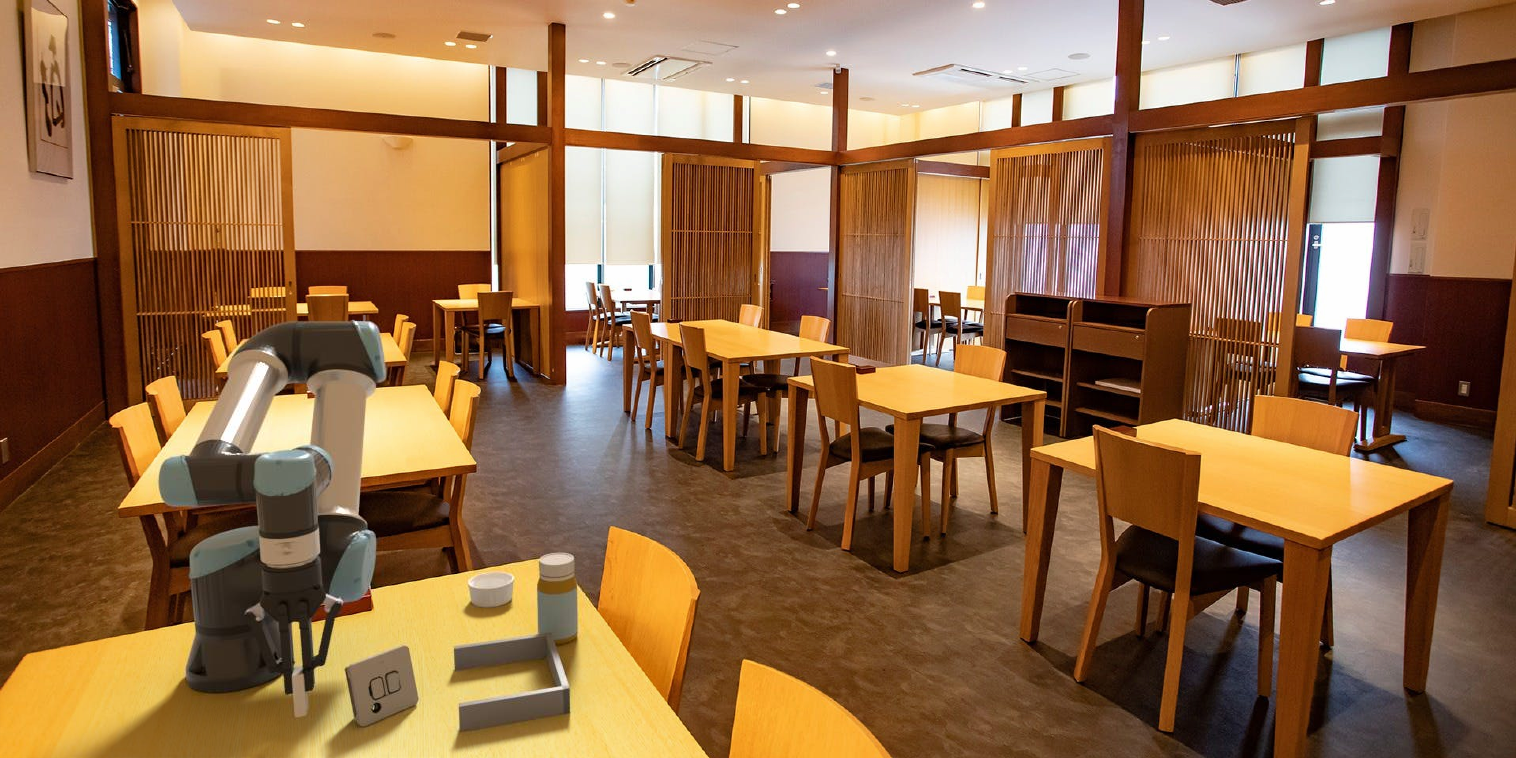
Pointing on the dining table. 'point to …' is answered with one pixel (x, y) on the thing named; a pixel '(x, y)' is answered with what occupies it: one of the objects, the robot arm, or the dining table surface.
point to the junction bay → (520, 703)
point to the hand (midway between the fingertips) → (301, 711)
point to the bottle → (557, 597)
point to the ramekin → (491, 589)
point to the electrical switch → (381, 685)
